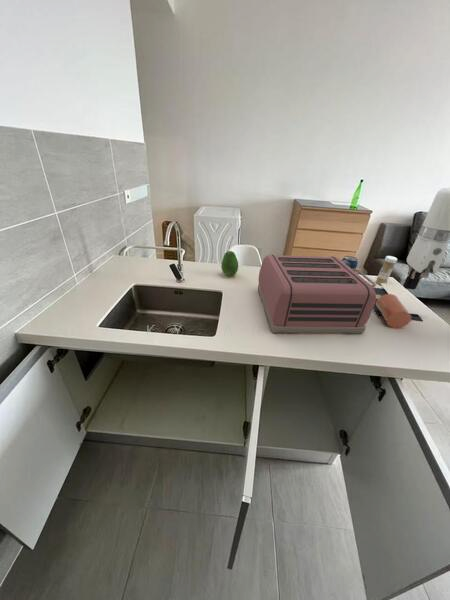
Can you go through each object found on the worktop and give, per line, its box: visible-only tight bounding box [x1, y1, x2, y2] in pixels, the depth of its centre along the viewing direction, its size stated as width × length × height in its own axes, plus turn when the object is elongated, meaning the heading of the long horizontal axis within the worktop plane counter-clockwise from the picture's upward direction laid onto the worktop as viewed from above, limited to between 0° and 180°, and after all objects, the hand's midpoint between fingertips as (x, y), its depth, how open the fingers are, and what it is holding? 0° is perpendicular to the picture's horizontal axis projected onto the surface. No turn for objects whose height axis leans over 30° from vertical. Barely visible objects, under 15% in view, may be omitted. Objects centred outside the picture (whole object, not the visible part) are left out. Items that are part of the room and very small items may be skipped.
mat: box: [373, 287, 424, 322], centre depth 102 cm, size 16×24×1 cm, turn 169°
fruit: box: [220, 250, 239, 277], centre depth 113 cm, size 8×8×12 cm
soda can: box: [340, 255, 359, 269], centre depth 114 cm, size 7×7×12 cm
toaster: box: [257, 254, 377, 334], centre depth 90 cm, size 30×36×17 cm
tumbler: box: [376, 293, 412, 329], centre depth 89 cm, size 7×7×11 cm
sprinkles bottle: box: [375, 255, 398, 286], centre depth 113 cm, size 5×5×13 cm
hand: (408, 287), depth 82 cm, fingers closed
